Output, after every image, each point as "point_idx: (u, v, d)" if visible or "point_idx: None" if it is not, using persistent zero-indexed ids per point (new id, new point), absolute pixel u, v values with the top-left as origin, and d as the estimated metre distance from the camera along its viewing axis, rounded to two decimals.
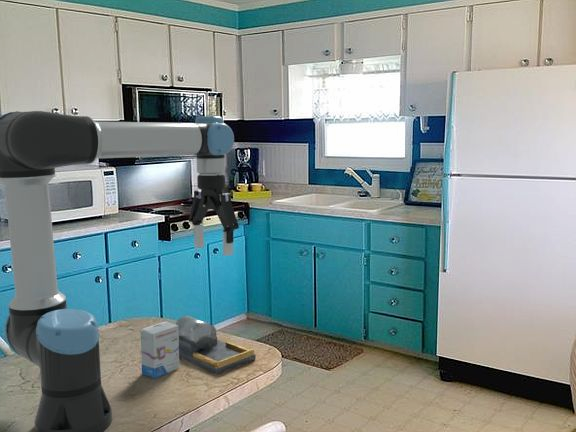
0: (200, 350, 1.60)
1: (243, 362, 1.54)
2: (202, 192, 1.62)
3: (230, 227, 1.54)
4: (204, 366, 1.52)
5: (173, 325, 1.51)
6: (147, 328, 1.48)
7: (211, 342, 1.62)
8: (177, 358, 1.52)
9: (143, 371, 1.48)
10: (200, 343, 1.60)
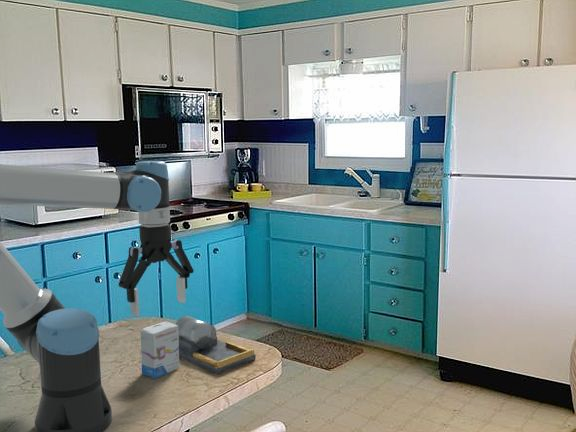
0: (200, 350, 1.60)
1: (243, 362, 1.54)
2: None
3: None
4: (204, 366, 1.52)
5: (173, 325, 1.51)
6: (147, 328, 1.48)
7: (211, 342, 1.62)
8: (177, 358, 1.52)
9: (143, 371, 1.48)
10: (200, 343, 1.60)
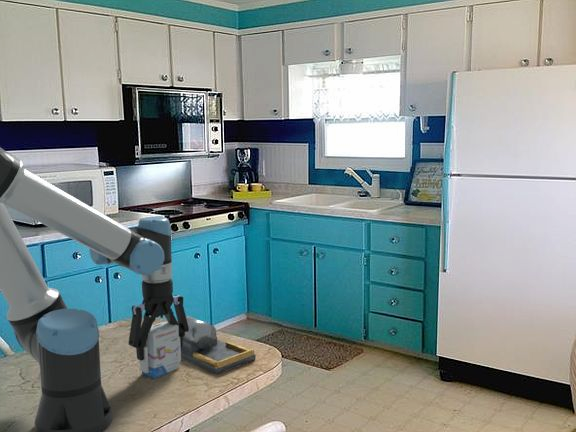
0: (200, 350, 1.60)
1: (243, 362, 1.54)
2: None
3: None
4: (204, 366, 1.52)
5: (173, 325, 1.51)
6: None
7: (211, 342, 1.62)
8: (177, 358, 1.52)
9: None
10: (200, 343, 1.60)
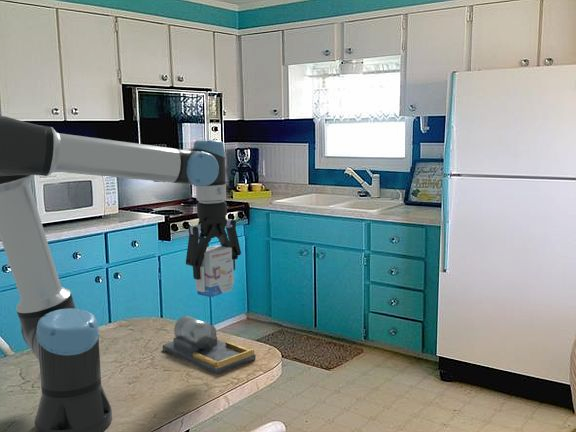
0: (200, 350, 1.60)
1: (243, 362, 1.54)
2: None
3: None
4: (204, 366, 1.52)
5: (227, 247, 1.54)
6: None
7: (211, 342, 1.62)
8: (231, 280, 1.55)
9: (199, 291, 1.52)
10: (200, 343, 1.60)
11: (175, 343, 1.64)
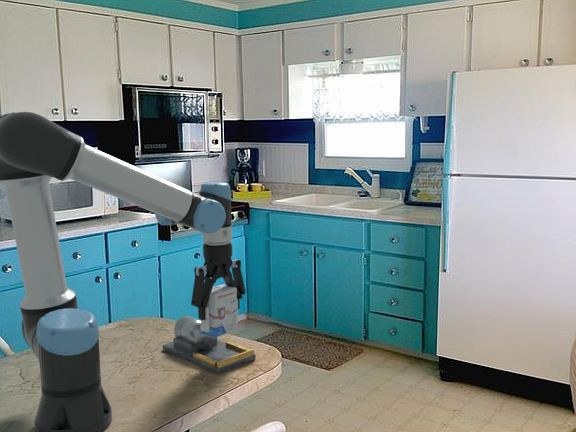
0: (200, 350, 1.60)
1: (243, 362, 1.54)
2: None
3: None
4: (204, 366, 1.52)
5: (232, 287, 1.56)
6: None
7: (211, 342, 1.62)
8: (235, 319, 1.57)
9: None
10: (200, 343, 1.60)
11: (175, 343, 1.64)
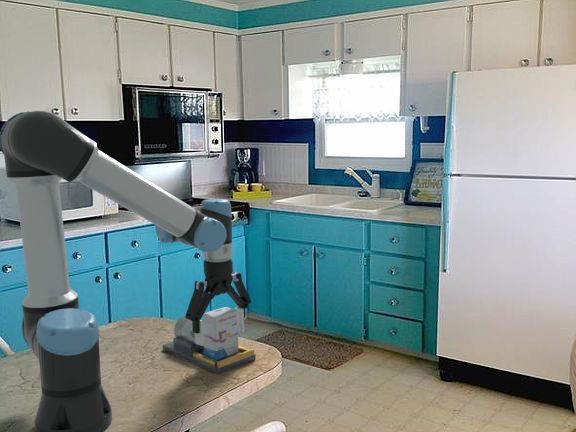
0: (200, 350, 1.60)
1: (243, 362, 1.54)
2: None
3: None
4: (204, 366, 1.52)
5: (233, 310, 1.57)
6: (209, 312, 1.55)
7: None
8: (236, 342, 1.58)
9: (205, 354, 1.55)
10: None
11: (175, 343, 1.64)
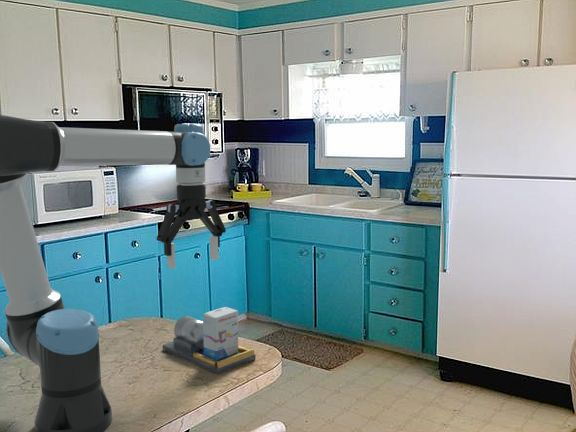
0: (200, 350, 1.60)
1: (243, 362, 1.54)
2: None
3: None
4: (204, 366, 1.52)
5: (233, 310, 1.57)
6: (209, 312, 1.55)
7: None
8: (236, 342, 1.58)
9: (205, 354, 1.55)
10: (200, 343, 1.60)
11: (175, 343, 1.64)
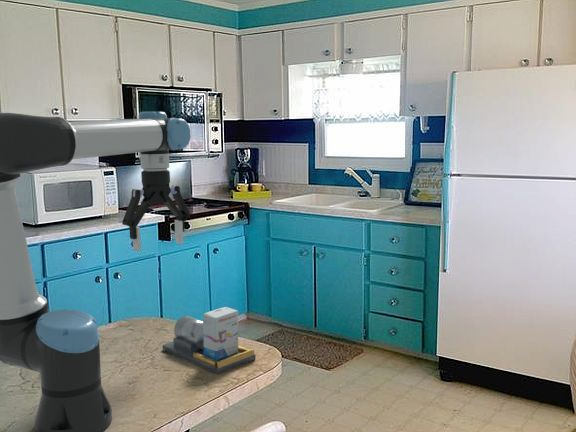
0: (200, 350, 1.60)
1: (243, 362, 1.54)
2: None
3: None
4: (204, 366, 1.52)
5: (233, 310, 1.57)
6: (209, 312, 1.55)
7: None
8: (236, 342, 1.58)
9: (205, 354, 1.55)
10: (200, 343, 1.60)
11: (175, 343, 1.64)
